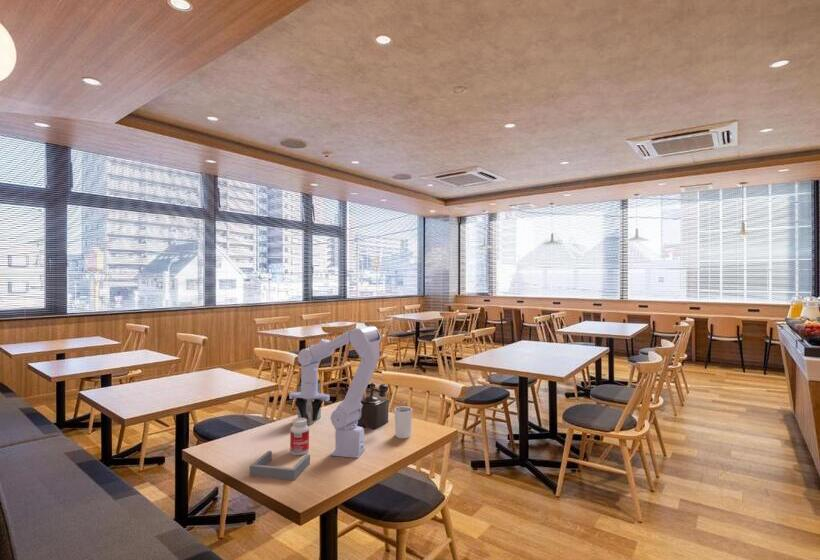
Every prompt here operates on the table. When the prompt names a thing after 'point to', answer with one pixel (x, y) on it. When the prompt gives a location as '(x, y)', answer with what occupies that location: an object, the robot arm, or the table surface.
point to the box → (277, 468)
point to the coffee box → (310, 406)
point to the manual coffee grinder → (374, 409)
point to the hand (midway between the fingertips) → (309, 419)
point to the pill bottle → (299, 437)
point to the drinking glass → (403, 421)
